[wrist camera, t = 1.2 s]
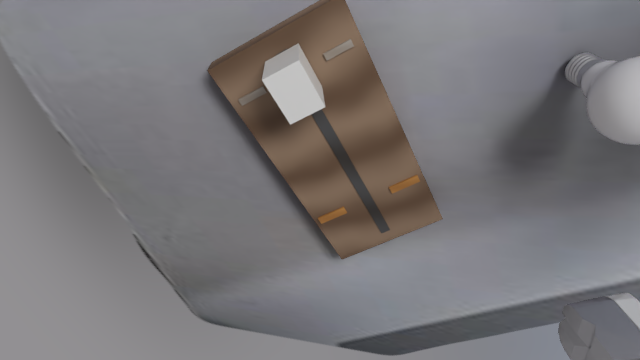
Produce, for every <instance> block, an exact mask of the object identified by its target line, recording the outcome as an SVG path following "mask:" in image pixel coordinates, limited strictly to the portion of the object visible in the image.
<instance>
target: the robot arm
mask: <svg viewBox="0 0 640 360" xmlns="http://www.w3.org/2000/svg"><path fill="white" fill-rule="evenodd" d="M562 313H563V315H564V316H565V319H564V320H563V321H561V322H560V323H559V329H558V333H559V336H560V341H561V343H562V346H563V348H564V350H565V351H566V353H567V355H568V356H569V358H570V359H571V360H640V302H639V301H638V300H637V299H636V298H635V297H634V296H632V295H631V294H629V293H619V294H614V295H609V296H602V297H598V298H593V299H588V300H584V301H579V302H575V303H570V304H567V305H565V306H564V307H563V311H562Z"/></svg>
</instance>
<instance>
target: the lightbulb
mask: <svg viewBox="0 0 640 360" xmlns="http://www.w3.org/2000/svg"><path fill="white" fill-rule="evenodd" d="M565 77H566V79H567V80H568V81H569V82H571V83H573V84H574V85H576V86H578V87H579V88H581V90H582V92H583V94H584V96H585V97H586V98H587V100H586V108H587V114H588V117H589V120H590V122H591V123H592V125H593V126H594V128H595V129H596V130H597V131H598V132H599V133H601V134H602V135H603V136H605V137H606V138H608V139H610V140H613V141H615V142H618V143H622V144H629V145H640V56H637V57H632V58H628V59H625V60H622V61H614V60H607V61H606V60H604V59H602V58H599V57H598V56H596V55H594V54H592V53H588V52H585V53H581V54H578V55H577V56H575V57H574V58H572V59H571V60H570V62H569V63H568V64H567V66H566V69H565Z"/></svg>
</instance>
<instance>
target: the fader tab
mask: <svg viewBox="0 0 640 360" xmlns="http://www.w3.org/2000/svg"><path fill="white" fill-rule="evenodd" d="M262 81H263V83H264V84H265V86H266V87H267V89H268V91H269V92H270V94H271V95H272V97H273V98H274V100H275V102H276V103H277V105H278V106H279V108H280V109H281V111H282V113H283V114H284V116H285V117H286V119H287V120H288V122H289V124H290V125H291V124H293V123H295V122H297V121H299V120H301V119H303V118H305V117H307V116H309V115H311V114H313V113H315V112H317V111H319V110H321V109H323V108H325V101H324V95H323V89H322V85H321V84H320V82H319V80H318V78H317V76H316V74H315V73H314V71H313V69H312V67H311V65H310V63H309V62H308V60H307V58H306V56H305V54H304V52H303V51H302V49H301V47H300V45H299V43H298V44H296V45H294V46H292V47H291V48H289V49H287V50H285V51H283V52H282V53H280V54H278V55H276V56H274V57H273V58H271V59H269V60H267V61H265V66H264V71H263V77H262Z"/></svg>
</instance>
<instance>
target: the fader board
mask: <svg viewBox="0 0 640 360" xmlns="http://www.w3.org/2000/svg"><path fill="white" fill-rule="evenodd" d="M298 43H299V45H300V47H301V49H302V51H303V52H304V54H305V56H306V58H307V60H308V62H309V63H310V65H311V67H312V69H313V71H314V73H315V74H316V76H317V78H318V80H319V82H320V84H321V85H322V89H323V95H324V101H325V108H323V109H321V110H319V111H317V112H315V113H313V114H311V115H309V116H307V117H305V118H303V119H301V120H299V121H297V122H295V123H293V124H291V125H290V124H289V122H288V120H287V119H286V117H285V116H284V114H283V113H282V111H281V109H280V108H279V106H278V105H277V103H276V102H275V100H274V98H273V97H272V95H271V94H270V92H269V91H268V89H267V87H266V86H265V84H264V83H263V81H262V77H263V71H264V66H265V61H267V60H269V59H271V58H273V57H274V56H276V55H278V54H280V53H282V52H283V51H285V50H287V49H289V48H291V47H292V46H294V45H296V44H298ZM207 71H208V72H209V74H210V75H211V76H212V78H213V79H214V81H215V82H216V84H217V85H218V86H219V88H220V89H221V91H222V92H223V93H224V95H225V96H226V98H227V99H228V100H229V102H230V103H231V105H232V106H233V107H234V109H235V110H236V112H237V113H238V114H239V116H240V117H241V119H242V120H243V121H244V123H245V124H246V126H247V127H248V128H249V130H250V131H251V133H252V134H253V135H254V137H255V138H256V140H257V141H258V142H259V144H260V145H261V147H262V148H263V149H264V151H265V152H266V154H267V155H268V156H269V158H270V159H271V161H272V162H273V163H274V165H275V166H276V168H277V169H278V170H279V172H280V173H281V175H282V176H283V177H284V179H285V180H286V182H287V183H288V184H289V186H290V187H291V189H292V190H293V191H294V193H295V194H296V196H297V197H298V198H299V200H300V201H301V203H302V204H303V205H304V207H305V208H306V210H307V211H308V212H309V214H310V215H311V217H312V218H313V220H314V221H315V222H316V224H317V225H318V227H319V228H320V229H321V231H322V232H323V234H324V235H325V236H326V238H327V239H328V241H329V242H330V243H331V245H332V246H333V248H334V249H335V250H336V252H337V253H338V255H339V256H340V257H341V259H344V258H347V257H349V256H352V255H354V254H357V253H359V252H362V251H364V250H367V249H369V248H372V247H374V246H377V245H379V244H382V243H384V242H387V241H389V240H392V239H394V238H397V237H399V236H402V235H404V234H407V233H409V232H412V231H414V230H417V229H419V228H422V227H424V226H427V225H429V224H432V223H434V222H437V221H439V220H442V219H443V218H442V216H441V214H440V212H439V209H438V207H437V205H436V203H435V201H434V198H433V196H432V194H431V192H430V189H429V187H428V185H427V183H426V180H425V178H424V176H423V174H422V171H421V169H420V167H419V165H418V163H417V160H416V158H415V156H414V154H413V151H412V149H411V147H410V145H409V142H408V140H407V138H406V136H405V133H404V131H403V129H402V127H401V124H400V122H399V120H398V118H397V116H396V113H395V111H394V109H393V107H392V104H391V102H390V100H389V98H388V95H387V93H386V91H385V89H384V86H383V84H382V82H381V80H380V78H379V75H378V73H377V71H376V69H375V66H374V64H373V62H372V60H371V57H370V55H369V53H368V51H367V48H366V46H365V44H364V42H363V39H362V37H361V35H360V33H359V31H358V28H357V26H356V24H355V22H354V19H353V17H352V15H351V13H350V10H349V8H348V6H347V4H346V1H345V0H320V1H318V2H316V3H314V4H313V5H311V6H309V7H307V8H306V9H304V10H302V11H300V12H299V13H297V14H295V15H293V16H292V17H290V18H288V19H286V20H285V21H283V22H281V23H279V24H278V25H276V26H274V27H273V28H271V29H269V30H267V31H266V32H264V33H262V34H260V35H259V36H257V37H255V38H253V39H252V40H250V41H248V42H246V43H245V44H243V45H241V46H239V47H238V48H236V49H234V50H232V51H231V52H229V53H227V54H226V55H224V56H222V57H220V58H219V59H217V60H215V61H213V62H212V63H211V65H210V67H209V68H208V70H207Z"/></svg>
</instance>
